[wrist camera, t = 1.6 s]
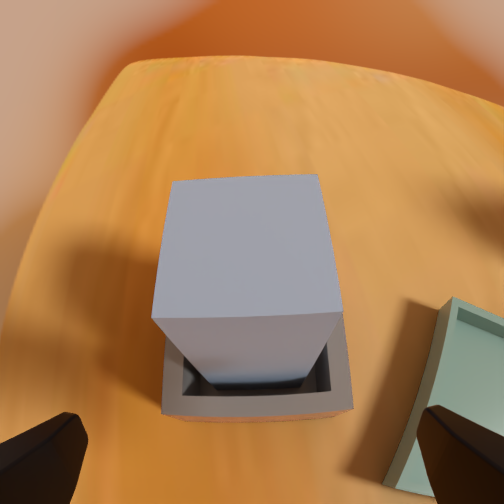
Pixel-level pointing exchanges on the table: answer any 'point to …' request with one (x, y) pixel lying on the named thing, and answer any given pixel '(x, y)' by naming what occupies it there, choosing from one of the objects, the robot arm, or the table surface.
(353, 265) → the table surface
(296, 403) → the holder
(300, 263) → the block
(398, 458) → the tray
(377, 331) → the table surface
